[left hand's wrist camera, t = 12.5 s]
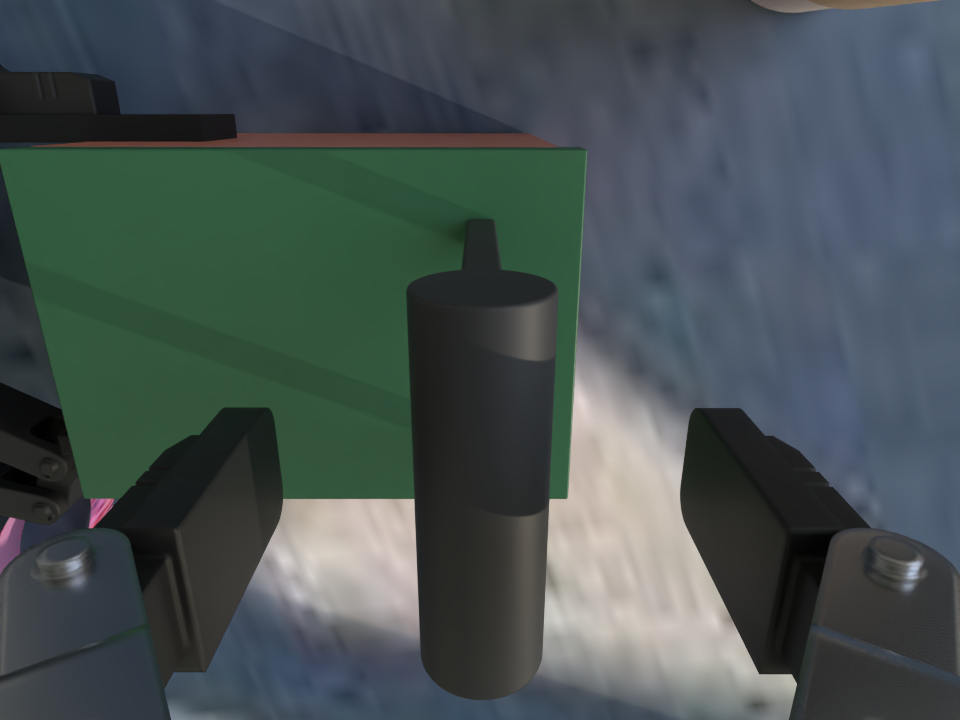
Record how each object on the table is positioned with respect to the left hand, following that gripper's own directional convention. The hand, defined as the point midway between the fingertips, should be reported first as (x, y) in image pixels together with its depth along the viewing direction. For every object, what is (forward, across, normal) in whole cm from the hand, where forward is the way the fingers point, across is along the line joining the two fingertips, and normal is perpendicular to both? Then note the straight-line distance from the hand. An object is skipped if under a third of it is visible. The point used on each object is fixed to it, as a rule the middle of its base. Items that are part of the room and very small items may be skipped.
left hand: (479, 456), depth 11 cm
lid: (+7, +4, 0) cm, 8 cm away
